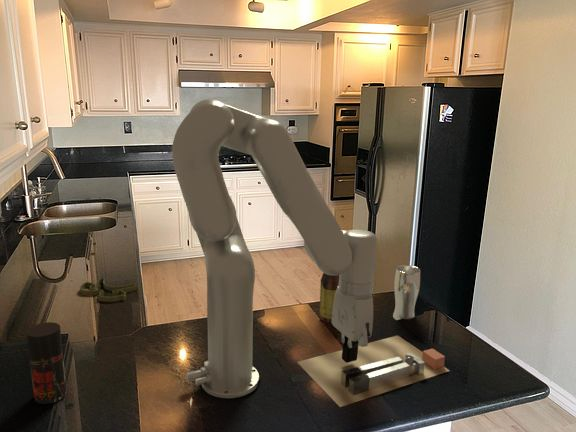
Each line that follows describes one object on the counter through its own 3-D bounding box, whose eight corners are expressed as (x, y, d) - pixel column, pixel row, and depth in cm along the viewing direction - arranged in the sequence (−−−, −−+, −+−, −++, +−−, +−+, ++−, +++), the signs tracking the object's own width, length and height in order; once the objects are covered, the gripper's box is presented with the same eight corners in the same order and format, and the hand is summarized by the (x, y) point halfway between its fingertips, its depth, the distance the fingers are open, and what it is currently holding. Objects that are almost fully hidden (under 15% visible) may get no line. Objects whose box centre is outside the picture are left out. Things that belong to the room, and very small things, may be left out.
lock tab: (431, 357, 111) (432, 348, 111) (443, 366, 108) (445, 356, 107) (421, 360, 110) (422, 351, 110) (434, 369, 107) (435, 359, 106)
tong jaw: (397, 368, 107) (398, 356, 106) (401, 371, 105) (402, 360, 105) (341, 383, 100) (341, 371, 100) (345, 387, 99) (345, 375, 98)
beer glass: (386, 314, 136) (390, 266, 133) (406, 311, 139) (411, 263, 135) (400, 325, 130) (405, 274, 126) (421, 321, 133) (426, 272, 129)
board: (339, 412, 93) (340, 406, 93) (296, 366, 109) (296, 362, 108) (449, 375, 107) (449, 370, 106) (397, 339, 122) (397, 335, 122)
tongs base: (409, 363, 109) (411, 350, 108) (423, 374, 105) (425, 359, 104) (341, 384, 100) (342, 369, 99) (354, 396, 96) (355, 381, 95)
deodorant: (30, 395, 96) (22, 328, 92) (60, 383, 100) (53, 319, 96) (40, 408, 92) (31, 340, 88) (71, 396, 96) (64, 329, 92)
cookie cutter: (143, 290, 149) (143, 284, 149) (118, 305, 138) (118, 299, 138) (97, 282, 155) (96, 276, 154) (70, 296, 144) (69, 290, 143)
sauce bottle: (327, 312, 137) (330, 247, 132) (345, 319, 133) (349, 252, 128) (314, 320, 132) (317, 253, 127) (332, 327, 128) (336, 258, 123)
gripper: (323, 276, 108) (318, 347, 112) (361, 301, 95) (354, 381, 100) (350, 272, 111) (344, 341, 116) (390, 296, 98) (382, 373, 103)
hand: (349, 359), depth 108 cm, fingers closed
